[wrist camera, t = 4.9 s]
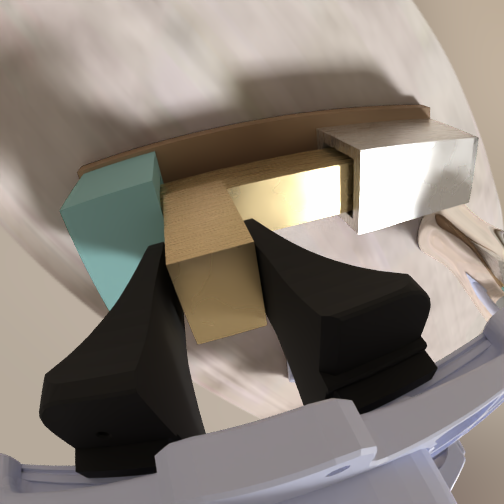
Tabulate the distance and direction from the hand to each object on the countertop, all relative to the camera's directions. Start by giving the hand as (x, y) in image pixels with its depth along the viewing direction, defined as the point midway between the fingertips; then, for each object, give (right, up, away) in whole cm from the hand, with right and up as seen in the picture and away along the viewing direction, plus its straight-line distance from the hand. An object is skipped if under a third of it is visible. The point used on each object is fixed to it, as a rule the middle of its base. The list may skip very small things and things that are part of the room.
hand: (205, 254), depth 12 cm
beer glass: (+19, +3, +13) cm, 23 cm away
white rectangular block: (+10, +6, +6) cm, 13 cm away
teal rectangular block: (-5, +2, +4) cm, 7 cm away
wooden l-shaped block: (+2, +3, +4) cm, 6 cm away
